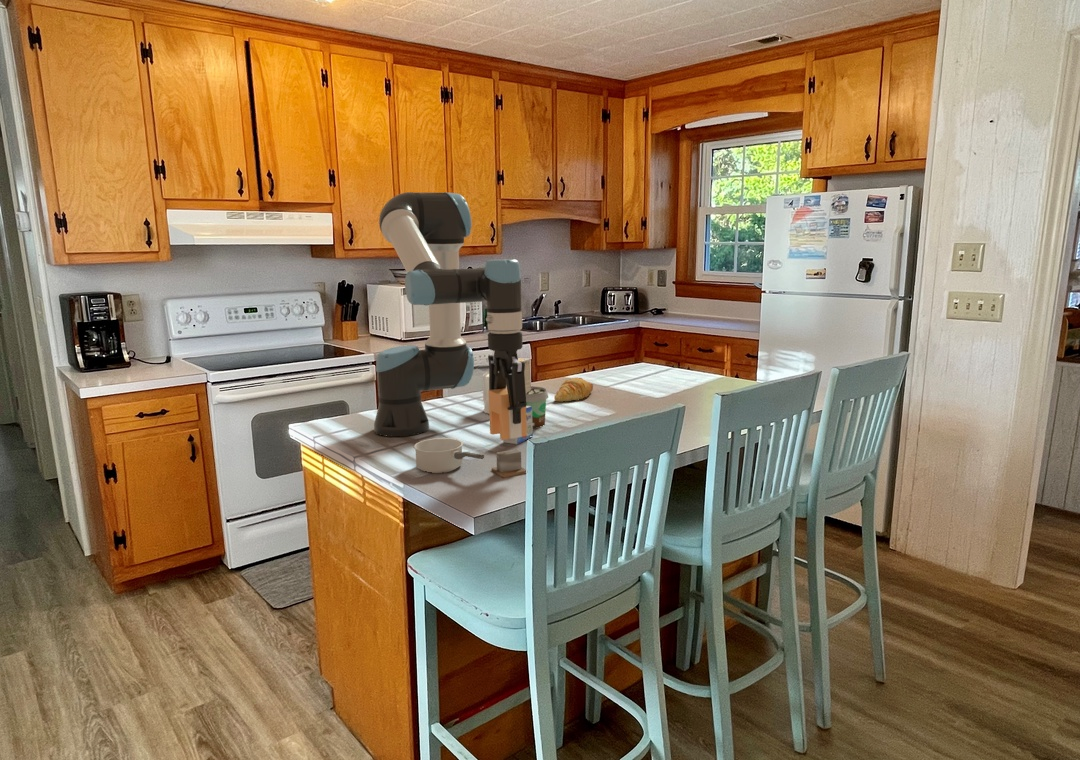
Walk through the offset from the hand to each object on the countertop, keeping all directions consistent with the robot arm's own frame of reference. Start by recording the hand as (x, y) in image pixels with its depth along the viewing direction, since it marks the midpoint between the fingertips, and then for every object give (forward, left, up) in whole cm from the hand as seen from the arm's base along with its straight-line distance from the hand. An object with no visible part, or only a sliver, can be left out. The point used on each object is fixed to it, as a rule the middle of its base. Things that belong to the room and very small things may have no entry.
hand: (508, 433), depth 153 cm
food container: (-33, +26, -9) cm, 43 cm away
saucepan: (-8, -11, -9) cm, 16 cm away
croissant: (-58, +53, -9) cm, 79 cm away
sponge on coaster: (0, 0, -9) cm, 9 cm away
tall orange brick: (0, 0, 0) cm, 0 cm away
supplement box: (-69, +38, -9) cm, 79 cm away
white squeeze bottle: (-54, +23, -9) cm, 59 cm away
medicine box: (-22, +14, -9) cm, 28 cm away
